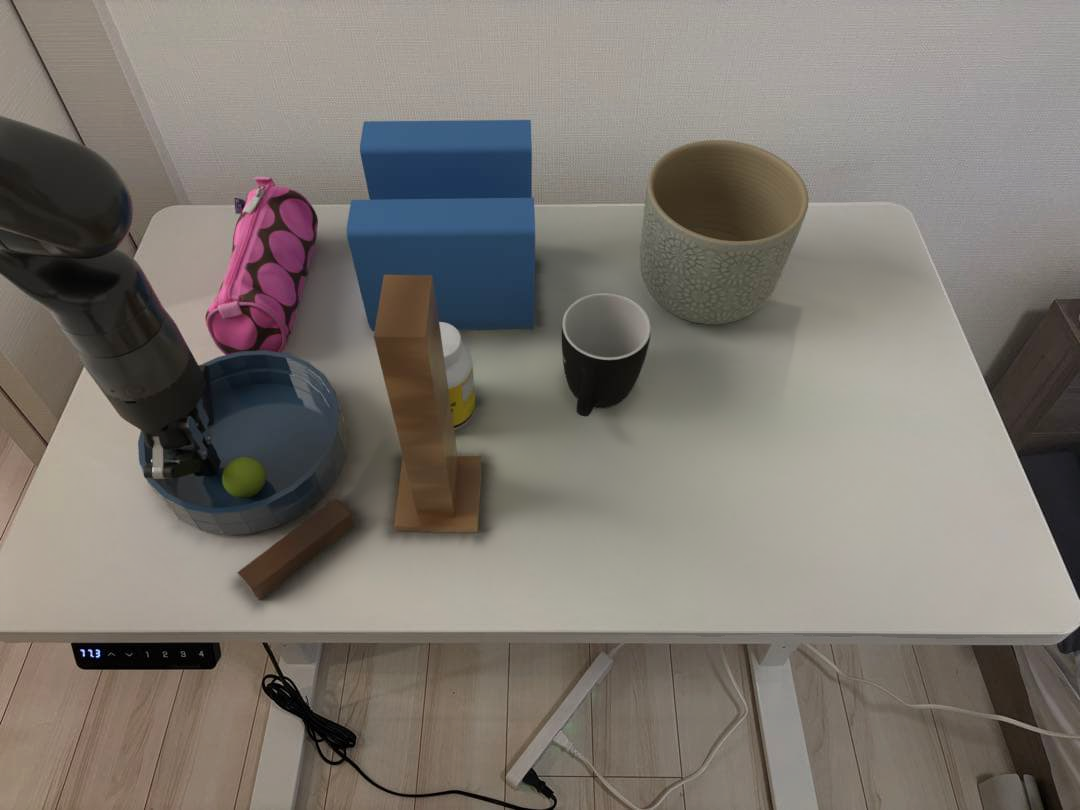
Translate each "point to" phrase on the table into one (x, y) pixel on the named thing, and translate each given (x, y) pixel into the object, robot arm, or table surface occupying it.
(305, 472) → the bowl
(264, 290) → the pencil case
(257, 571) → the stick
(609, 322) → the mug
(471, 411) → the pill bottle
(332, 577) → the table surface
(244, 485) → the grape
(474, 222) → the block
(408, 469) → the stand
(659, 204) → the planter
